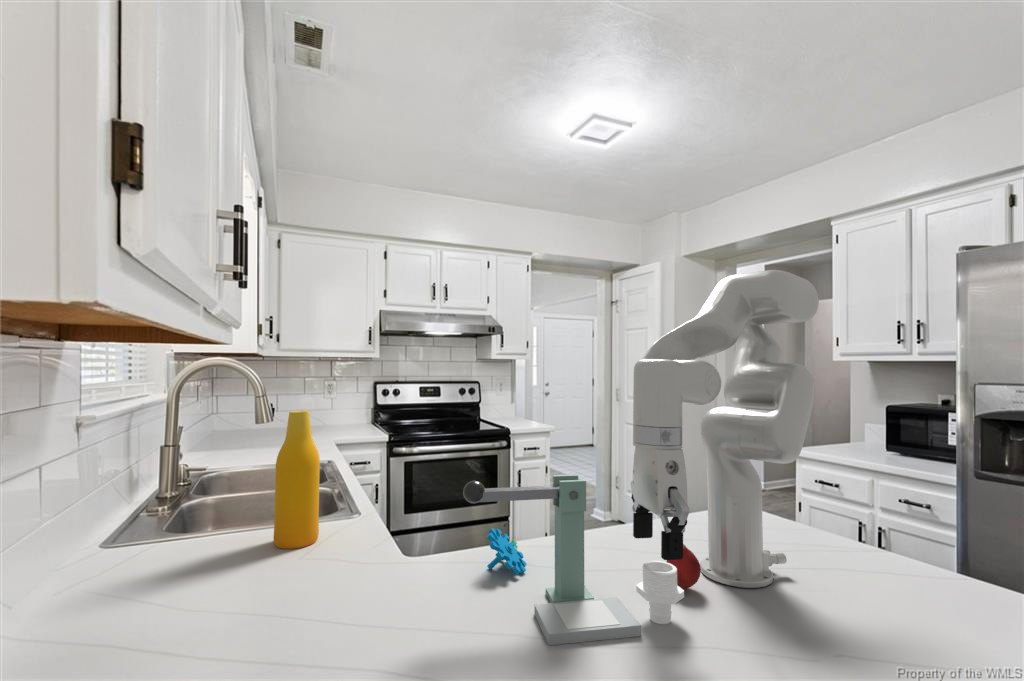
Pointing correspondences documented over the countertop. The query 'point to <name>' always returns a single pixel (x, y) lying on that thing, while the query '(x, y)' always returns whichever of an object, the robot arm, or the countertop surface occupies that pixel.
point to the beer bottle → (297, 486)
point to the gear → (506, 552)
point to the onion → (686, 569)
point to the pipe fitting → (660, 589)
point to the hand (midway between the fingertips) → (656, 547)
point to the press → (577, 580)
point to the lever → (508, 493)
